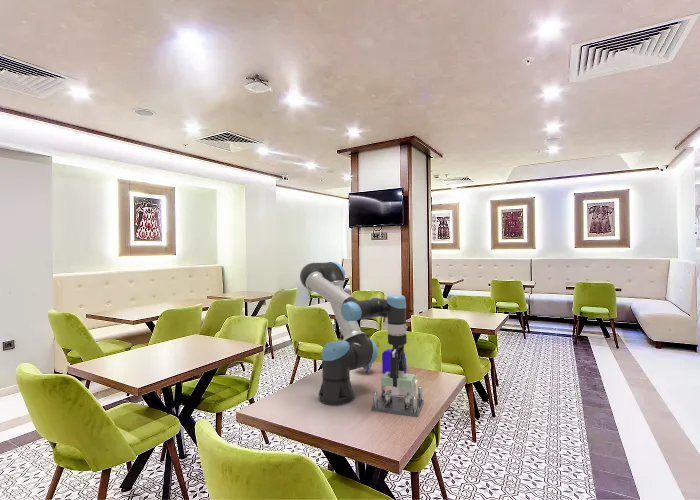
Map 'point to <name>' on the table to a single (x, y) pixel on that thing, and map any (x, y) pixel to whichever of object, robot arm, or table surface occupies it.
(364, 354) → the robot arm
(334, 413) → the table surface
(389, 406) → the chassis
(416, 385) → the block
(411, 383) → the board
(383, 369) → the bracket
